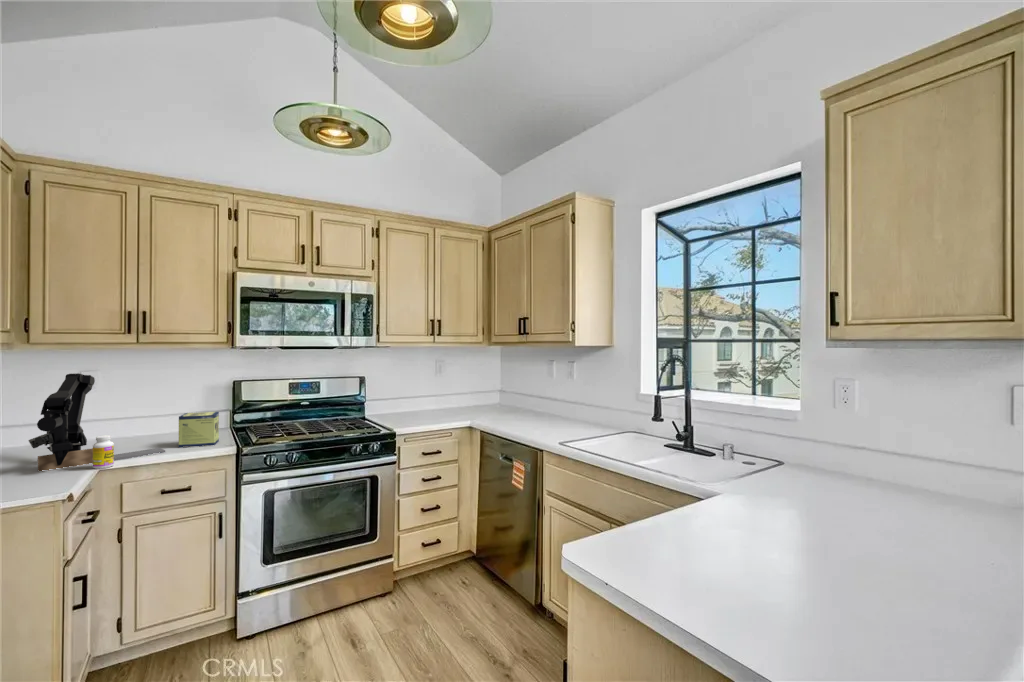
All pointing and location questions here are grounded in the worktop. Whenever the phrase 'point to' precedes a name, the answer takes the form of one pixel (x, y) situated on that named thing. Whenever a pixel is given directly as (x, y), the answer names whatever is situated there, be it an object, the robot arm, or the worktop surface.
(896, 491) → the worktop surface
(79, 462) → the brown wooden plank
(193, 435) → the protein box
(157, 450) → the mat
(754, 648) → the worktop surface
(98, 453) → the supplement bottle
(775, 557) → the worktop surface
